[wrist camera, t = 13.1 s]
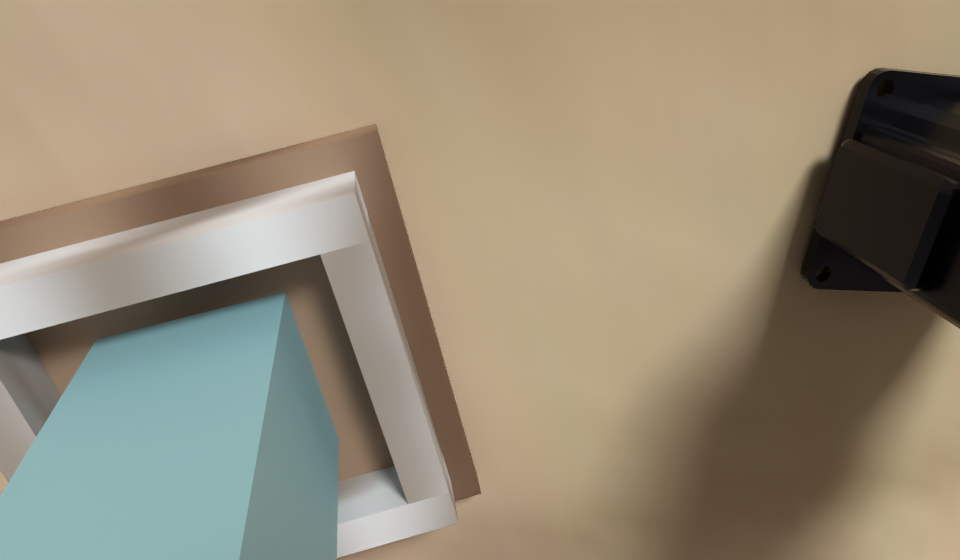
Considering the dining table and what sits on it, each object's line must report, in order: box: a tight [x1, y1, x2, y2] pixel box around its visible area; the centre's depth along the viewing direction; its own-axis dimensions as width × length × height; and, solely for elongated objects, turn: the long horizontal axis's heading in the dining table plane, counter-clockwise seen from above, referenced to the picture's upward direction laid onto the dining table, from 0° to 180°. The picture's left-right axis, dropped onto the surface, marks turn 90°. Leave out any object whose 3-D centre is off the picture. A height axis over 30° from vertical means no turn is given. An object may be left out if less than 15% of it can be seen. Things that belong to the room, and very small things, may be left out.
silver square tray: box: [0, 124, 481, 558], centre depth 20 cm, size 12×12×3 cm
